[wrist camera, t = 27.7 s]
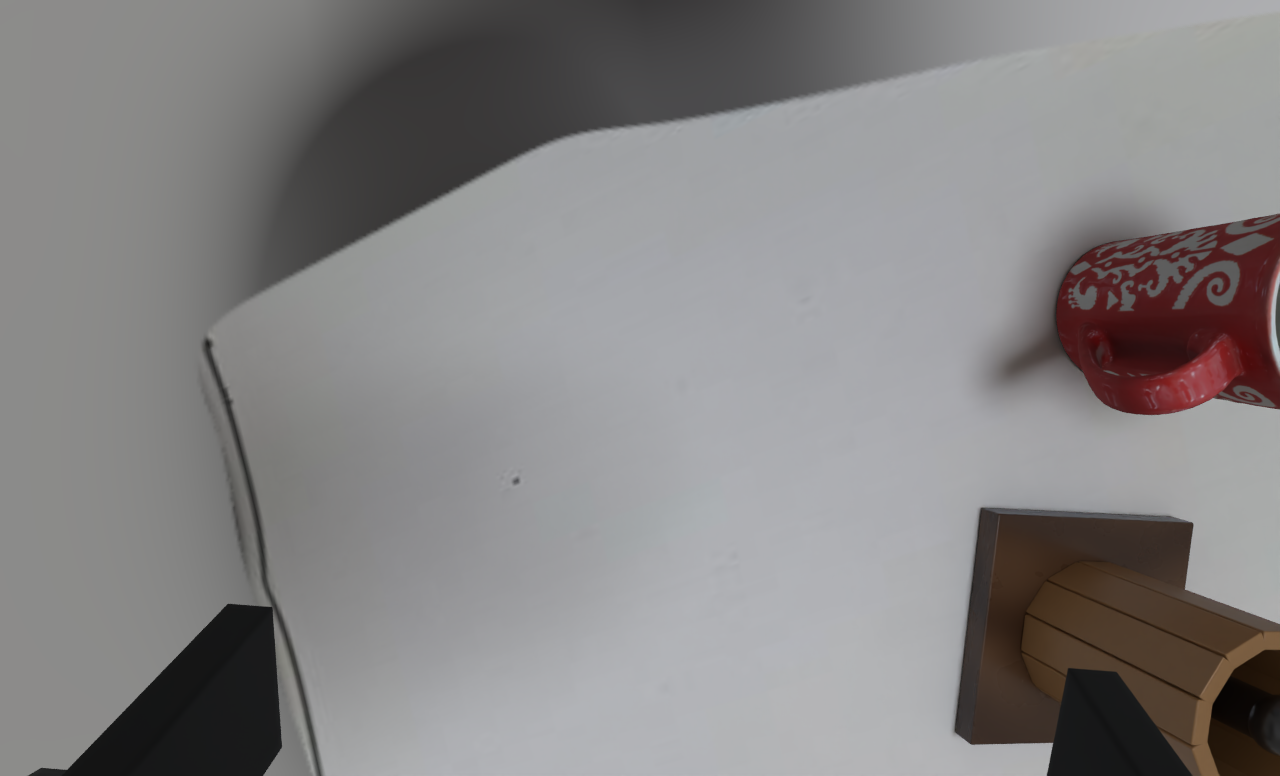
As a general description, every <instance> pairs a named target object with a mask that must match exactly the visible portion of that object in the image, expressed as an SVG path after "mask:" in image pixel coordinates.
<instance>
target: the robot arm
mask: <svg viewBox="0 0 1280 776" xmlns="http://www.w3.org/2000/svg"><path fill="white" fill-rule="evenodd" d="M281 748H282V741H281V726H280V712H279V697H278V683H277V668H276V653H275V639H274V624H273V610H272V607H262V606H249V605H236V604H227V605H226V607H224V608H223V609H222V610H221V612H220V613H219V614H218V615H217V616H216V617H215V618H214V619H213V620H212V621H211V622H210V623H209V624H208V625H207V626H206V627H205V628H204V629H203V630H202V631H201V632H200V633H199V634H198V635H197V636H196V637H195V638H194V640H193V641H191V643H190V644H189V645H188V646H187V647H186V648H185V649H184V650H183V651H182V652H181V653H180V654H179V655H178V656H177V657H176V658H175V659H174V660H173V661H172V662H171V663H170V664H169V665H168V666H167V667H166V669H164V670H163V671H162V672H161V674H160V675H159V676H158V677H157V678H156V679H155V680H154V681H153V682H152V683H151V684H150V685H149V686H148V687H147V688H146V689H145V690H144V691H143V692H142V693H141V694H140V695H139V696H138V697H137V698H136V699H135V701H134V702H133V703H132V704H131V705H130V706H129V707H128V708H127V709H126V710H125V711H124V712H123V713H122V714H121V715H120V716H119V717H118V718H117V719H116V720H115V721H114V722H113V723H112V724H111V725H110V726H109V727H108V728H107V730H105V731H104V733H102V735H101V736H100V737H99V738H98V739H97V740H96V741H95V742H94V743H93V744H92V745H91V746H90V747H89V748H88V749H87V750H86V751H85V752H84V753H83V754H82V755H81V756H80V757H79V758H78V759H77V760H76V761H75V762H74V763H73V764H72V766H71V767H70V768H69V769H68V770H59V769H48V768H40V769H39V770H37V771H35V772H34V773H32V774H30V775H29V776H263V775H264V773H265V772H266V770H267V769H268V767H269V766H270V764H271V762H272V761H273V760H274V758H275V757H276V755H277V754H278V752H279V751H280V749H281ZM1047 776H1193V775H1192V774H1191V773H1190V771H1189V770H1188V769H1187V767H1186V766H1185V765H1184V763H1183V762H1182V760H1181V759H1180V758H1179V756H1178V755H1177V754H1176V752H1175V751H1174V749H1173V748H1172V747H1171V745H1170V744H1169V743H1168V741H1167V740H1166V739H1165V737H1164V736H1163V734H1162V733H1161V732H1160V730H1159V729H1158V728H1157V726H1156V725H1155V723H1154V722H1153V721H1152V719H1151V718H1150V717H1149V715H1148V714H1147V713H1146V711H1145V710H1144V708H1143V707H1142V706H1141V704H1140V703H1139V702H1138V700H1137V699H1136V698H1135V696H1134V695H1133V693H1132V692H1131V691H1130V689H1129V688H1128V687H1127V685H1126V684H1125V682H1124V681H1123V680H1122V678H1121V677H1120V676H1119V674H1118V673H1117V672H1114V671H1101V670H1088V669H1075V668H1068V671H1067V676H1066V681H1065V686H1064V691H1063V696H1062V701H1061V707H1060V712H1059V717H1058V722H1057V727H1056V732H1055V737H1054V742H1053V747H1052V752H1051V758H1050V763H1049V768H1048V773H1047Z"/></svg>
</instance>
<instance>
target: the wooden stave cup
mask: <svg viewBox="0 0 1280 776" xmlns="http://www.w3.org/2000/svg"><path fill="white" fill-rule="evenodd" d="M1026 612H1027V613H1028V614H1030V615H1025V619H1024V627H1023V635H1022V644H1021V650H1022V651H1023V652H1022V653H1021V654H1022V657H1023V659H1024V662H1025V664H1026V667H1027V669H1028V672H1029V675H1030V677H1031V680H1032V682H1033V684H1035V687H1037V688H1038V689H1040V690H1041V691H1042V692H1044V693H1045V694H1047V695H1048V696H1049V697H1051V698H1052V699H1054V700H1055V701H1057V702H1058V703H1060V704H1061V701H1062V696H1063V691H1064V686H1065V681H1066V676H1067V671H1068V668H1075V669H1088V670H1101V671H1114V672H1117V673H1118V674H1119V676H1120V677H1121V678H1122V680H1123V681H1124V682H1125V684H1126V685H1127V687H1128V688H1129V689H1130V691H1131V692H1132V693H1133V695H1134V696H1135V698H1136V699H1137V700H1138V702H1139V703H1140V704H1141V706H1142V707H1143V708H1144V710H1145V711H1146V713H1147V714H1148V715H1149V717H1150V718H1151V719H1152V721H1153V722H1154V723H1155V725H1156V726H1157V728H1158V729H1159V730H1160V732H1161V733H1162V734H1163V736H1164V737H1165V739H1166V740H1167V741H1168V743H1169V744H1170V745H1171V747H1172V748H1173V749H1174V751H1175V752H1176V754H1177V755H1178V756H1179V758H1180V759H1181V760H1182V762H1183V763H1184V765H1185V766H1186V767H1187V769H1188V770H1189V771H1190V773H1191V774H1192V775H1193V776H1280V756H1277V755H1274V754H1272V753H1269V752H1268V751H1266V750H1264V749H1263V748H1262V747H1260V746H1259V745H1258V744H1257V743H1256V742H1255V740H1254V739H1253V738H1251V737H1249V736H1247V735H1245V734H1243V733H1241V732H1239V731H1237V730H1235V729H1233V728H1231V727H1229V726H1227V725H1225V724H1223V723H1221V722H1219V721H1217V720H1216V719H1214V718H1212V717H1211V712H1212V704H1213V703H1214V701H1215V699H1216V698H1217V696H1218V695H1219V693H1220V691H1221V690H1222V688H1223V686H1224V685H1225V683H1226V682H1227V680H1228V678H1229V677H1230V676H1232V677H1235V678H1237V679H1239V680H1241V681H1243V682H1246V683H1248V684H1250V685H1252V686H1255V687H1257V688H1259V689H1261V690H1264V691H1266V692H1268V693H1270V694H1272V695H1280V624H1278V623H1275V622H1272V621H1269V620H1267V619H1264V618H1261V617H1258V616H1256V615H1253V614H1250V613H1247V612H1245V611H1242V610H1239V609H1237V608H1234V607H1231V606H1228V605H1226V604H1223V603H1220V602H1217V601H1215V600H1212V599H1209V598H1206V597H1204V596H1201V595H1198V594H1195V593H1193V592H1190V591H1187V590H1184V589H1182V588H1179V587H1176V586H1173V585H1171V584H1168V583H1165V582H1162V581H1160V580H1157V579H1154V578H1152V577H1149V576H1146V575H1143V574H1141V573H1138V572H1135V571H1132V570H1130V569H1127V568H1124V567H1121V566H1119V565H1116V564H1113V563H1110V562H1091V561H1079V563H1078V562H1075V563H1074V564H1072V565H1070V566H1069V567H1067V568H1065V569H1063V570H1062V571H1060V572H1058V573H1057V574H1055V575H1053V576H1051V577H1050V578H1048V582H1047V581H1045V582H1044V584H1043V585H1042V587H1041V588H1040V590H1039V591H1038V593H1037V595H1036V596H1035V598H1034V599H1033V601H1032V602H1031V604H1030V606H1029V607H1028V609H1027V610H1026Z"/></svg>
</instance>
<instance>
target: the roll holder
mask: <svg viewBox="0 0 1280 776" xmlns="http://www.w3.org/2000/svg"><path fill="white" fill-rule="evenodd" d="M1192 531H1193V523H1192V522H1188V521H1185V520H1181V519H1178V518H1174V517H1161V516H1140V515H1119V514H1098V513H1077V512H1056V511H1036V510H1015V509H994V508H982V511H981V519H980V528H979V536H978V545H977V553H976V562H975V570H974V578H973V587H972V595H971V604H970V612H969V621H968V629H967V638H966V646H965V655H964V663H963V672H962V680H961V689H960V697H959V706H958V714H957V723H956V733H957V734H958V735H959V736H961V737H962V738H963V739H965V740H966V741H967V742H969V743H970V744H972V745H975V744H1018V743H1053V742H1054V737H1055V732H1056V727H1057V722H1058V717H1059V712H1060V707H1061V704H1060V703H1058V702H1057V701H1055V700H1054V699H1052V698H1051V697H1049V696H1048V695H1047V694H1045V693H1044V692H1042V691H1041V690H1040V689H1038V688H1037V687H1035V684H1033V682H1032V680H1031V677H1030V675H1029V672H1028V669H1027V667H1026V664H1025V662H1024V659H1023V657H1022V654H1021V653H1022V652H1023V651H1022V650H1021V644H1022V635H1023V627H1024V619H1025V615H1030V614H1028V613H1027V612H1026V610H1027V609H1028V607H1029V606H1030V604H1031V602H1032V601H1033V599H1034V598H1035V596H1036V595H1037V593H1038V591H1039V590H1040V588H1041V587H1042V585H1043V584H1044V582H1045V581H1047V582H1048V578H1050V577H1051V576H1053V575H1055V574H1057V573H1058V572H1060V571H1062V570H1063V569H1065V568H1067V567H1069V566H1070V565H1072V564H1074V563H1075V562H1078V563H1079V561H1091V562H1110V563H1113V564H1116V565H1119V566H1121V567H1124V568H1127V569H1130V570H1132V571H1135V572H1138V573H1141V574H1143V575H1146V576H1149V577H1152V578H1154V579H1157V580H1160V581H1162V582H1165V583H1168V584H1171V585H1173V586H1176V587H1179V588H1182V589H1184V590H1185V584H1186V576H1187V568H1188V561H1189V553H1190V546H1191V538H1192ZM1211 717H1212V718H1214V719H1216V720H1217V721H1219V722H1221V723H1223V724H1225V725H1227V726H1229V727H1231V728H1233V729H1235V730H1237V731H1239V732H1241V733H1243V734H1245V735H1247V736H1249V737H1251V738H1253V739H1254V740H1255V742H1256V743H1257V744H1258V745H1259V746H1260V747H1262V748H1263V749H1264V750H1266V751H1268V752H1269V753H1272V754H1274V755H1277V756H1280V695H1272V694H1270V693H1268V692H1266V691H1264V690H1261V689H1259V688H1257V687H1255V686H1252V685H1250V684H1248V683H1246V682H1243V681H1241V680H1239V679H1237V678H1235V677H1232V676H1230V677H1229V678H1228V680H1227V682H1226V683H1225V685H1224V686H1223V688H1222V690H1221V691H1220V693H1219V695H1218V696H1217V698H1216V699H1215V701H1214V703H1213V704H1212V712H1211Z"/></svg>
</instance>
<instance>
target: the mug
mask: <svg viewBox="0 0 1280 776" xmlns="http://www.w3.org/2000/svg"><path fill="white" fill-rule="evenodd" d="M1056 318H1057V328H1058V333H1059V337H1060V339H1061V342H1062V345H1063V347H1064V349H1065V351H1066V353H1067V354H1068V356H1069V357H1070V358H1071V360H1072V361H1073V362H1074V363H1075V364H1076V365H1077V366H1078V367H1079V368H1080V369H1081V370H1083V372H1084V375H1085V377H1086V379H1087V381H1088V383H1089V385H1090V387H1091V389H1092V391H1093V392H1094V393H1095V395H1096V396H1097V397H1098V398H1099V399H1100V400H1101V401H1102V402H1103V403H1104V404H1106V405H1107V406H1109V407H1111V408H1113V409H1116V410H1119V411H1122V412H1126V413H1132V414H1143V415H1160V414H1169V413H1175V412H1179V411H1183V410H1186V409H1190V408H1193V407H1195V406H1198V405H1200V404H1202V403H1204V402H1206V401H1209V400H1210V399H1212V398H1216V399H1223V400H1228V401H1233V402H1237V403H1245V404H1250V405H1255V406H1261V407H1267V408H1274V409H1280V214H1276V215H1270V216H1265V217H1258V218H1252V219H1248V220H1243V221H1237V222H1232V223H1226V224H1220V225H1214V226H1208V227H1202V228H1195V229H1190V230H1185V231H1179V232H1173V233H1167V234H1161V235H1155V236H1148V237H1142V238H1136V239H1129V240H1122V241H1115V242H1111V243H1107V244H1104V245H1101V246H1098V247H1096V248H1094V249H1092V250H1091V251H1089V252H1087V253H1086V254H1085V255H1083V256H1082V257H1081V258H1080V259H1079V260H1078V261H1077V262H1076V263H1075V264H1074V266H1073V267H1072V268H1071V270H1070V271H1069V273H1068V274H1067V276H1066V278H1065V280H1064V282H1063V284H1062V286H1061V289H1060V292H1059V297H1058V302H1057V311H1056Z"/></svg>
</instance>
